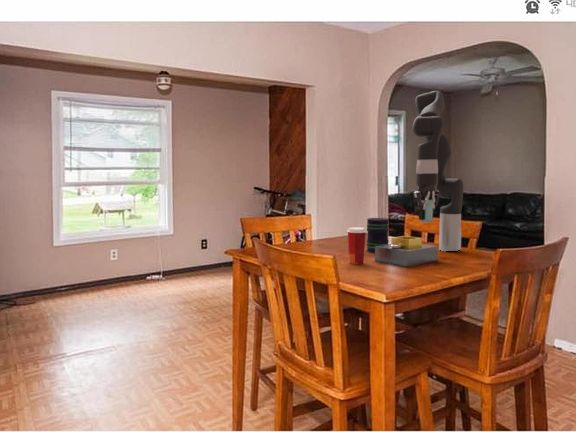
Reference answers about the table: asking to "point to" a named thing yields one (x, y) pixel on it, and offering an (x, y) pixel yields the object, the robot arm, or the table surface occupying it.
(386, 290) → the table surface
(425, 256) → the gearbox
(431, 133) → the robot arm
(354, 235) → the paper cup
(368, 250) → the storage jar
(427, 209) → the spout can
